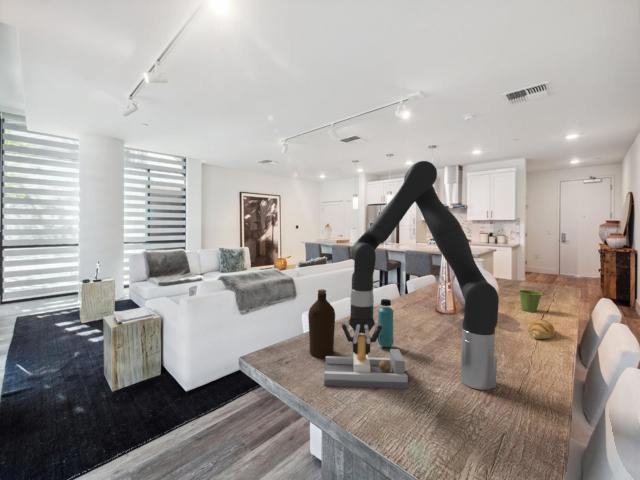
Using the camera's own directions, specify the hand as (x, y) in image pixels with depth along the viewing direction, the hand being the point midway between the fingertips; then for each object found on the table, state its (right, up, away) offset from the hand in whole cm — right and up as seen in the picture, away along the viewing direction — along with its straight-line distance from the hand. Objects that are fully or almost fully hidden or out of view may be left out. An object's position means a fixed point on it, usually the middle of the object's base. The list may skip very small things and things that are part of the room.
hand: (361, 353), depth 99 cm
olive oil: (-13, -7, +18) cm, 23 cm away
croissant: (+89, -7, +40) cm, 98 cm away
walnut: (+8, -6, 0) cm, 10 cm away
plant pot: (+111, -5, +78) cm, 136 cm away
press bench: (+1, -8, 0) cm, 8 cm away
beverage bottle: (+13, -7, +24) cm, 28 cm away
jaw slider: (0, -6, 0) cm, 6 cm away
